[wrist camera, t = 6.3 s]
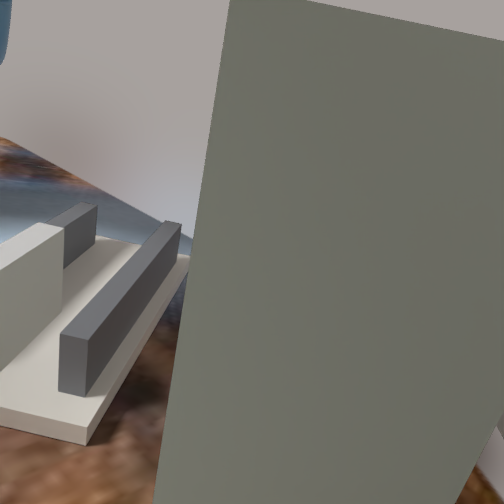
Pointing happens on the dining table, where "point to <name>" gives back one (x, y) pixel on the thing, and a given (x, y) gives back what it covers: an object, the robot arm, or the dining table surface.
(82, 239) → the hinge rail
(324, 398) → the door
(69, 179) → the dining table surface
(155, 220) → the dining table surface
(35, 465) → the dining table surface
